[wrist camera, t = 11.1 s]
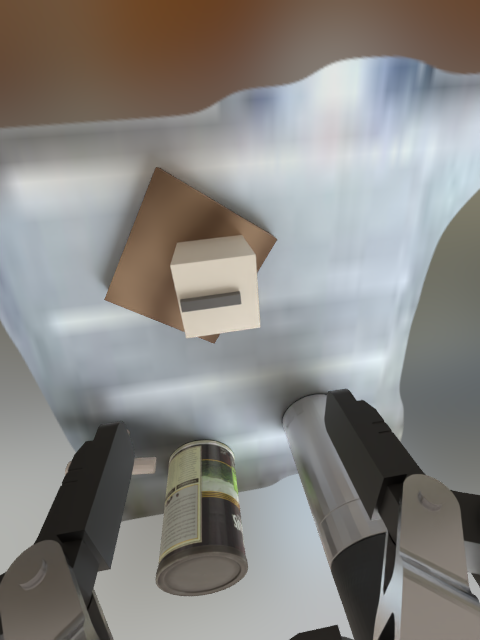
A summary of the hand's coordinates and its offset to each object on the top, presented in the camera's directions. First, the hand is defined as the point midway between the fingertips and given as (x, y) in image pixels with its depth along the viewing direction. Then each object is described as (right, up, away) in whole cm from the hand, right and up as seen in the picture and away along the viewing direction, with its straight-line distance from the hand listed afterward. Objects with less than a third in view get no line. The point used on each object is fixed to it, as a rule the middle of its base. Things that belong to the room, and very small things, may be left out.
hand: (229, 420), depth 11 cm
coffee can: (-6, -18, +32) cm, 38 cm away
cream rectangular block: (-2, +9, +16) cm, 18 cm away
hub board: (-5, +10, +17) cm, 20 cm away
